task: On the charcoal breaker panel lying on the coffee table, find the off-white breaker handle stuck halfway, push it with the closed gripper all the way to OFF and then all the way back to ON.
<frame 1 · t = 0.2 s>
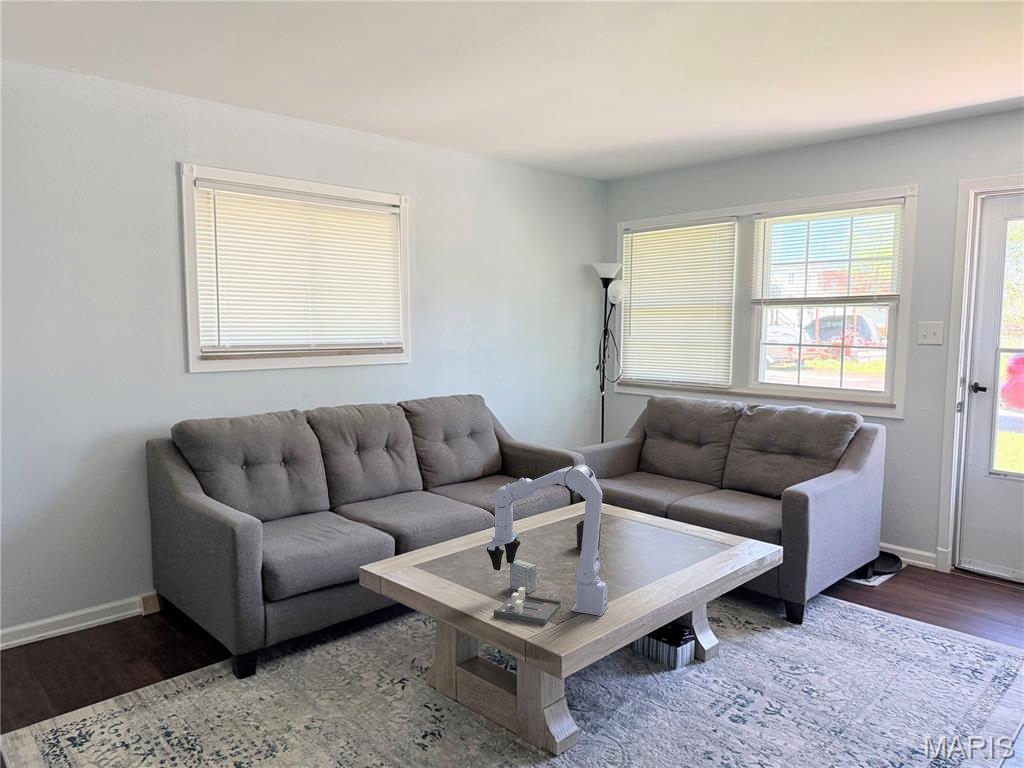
hand: (503, 566, 219), 10 cm above the table, tool pointing down, fingers open, 7 cm apart
breaker panel: (527, 611, 209), on the table
pen holder: (588, 548, 270), on the table
breaker 3: (521, 594, 215), point 3 cm above the table, slide at 3.0 cm
medicine box: (522, 589, 227), on the table
tripped breaker: (518, 607, 205), point 3 cm above the table, slide at 0.0 cm
breaker 2: (515, 599, 210), point 3 cm above the table, slide at 3.0 cm
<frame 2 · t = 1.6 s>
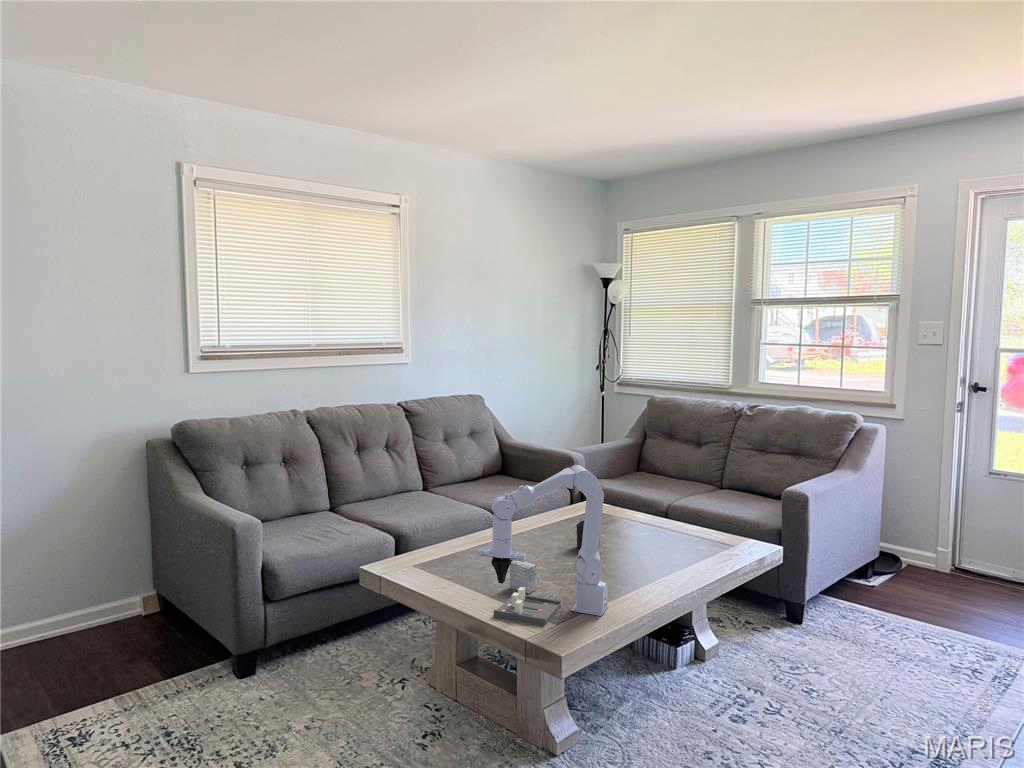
hand: (501, 582, 206), 10 cm above the table, tool pointing down, fingers closed
nothing on the table moved.
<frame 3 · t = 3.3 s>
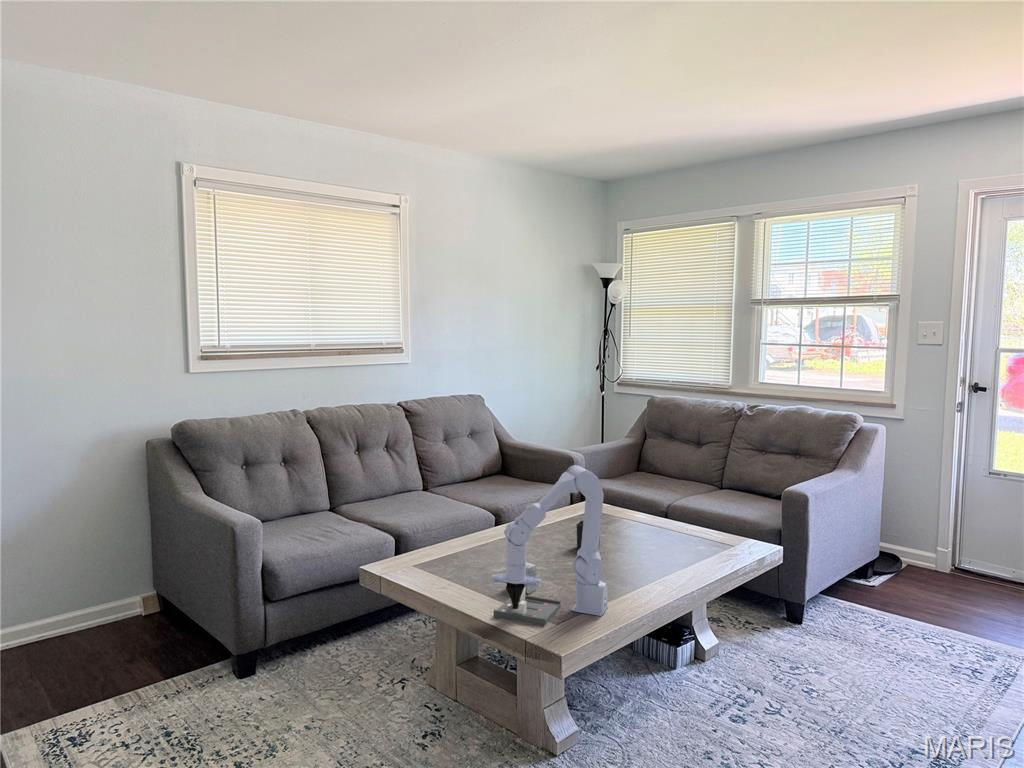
hand: (515, 607, 205), 3 cm above the table, tool pointing down, fingers closed
tripped breaker: (522, 608, 204), point 3 cm above the table, slide at -1.2 cm, touching gripper
everything else where it was.
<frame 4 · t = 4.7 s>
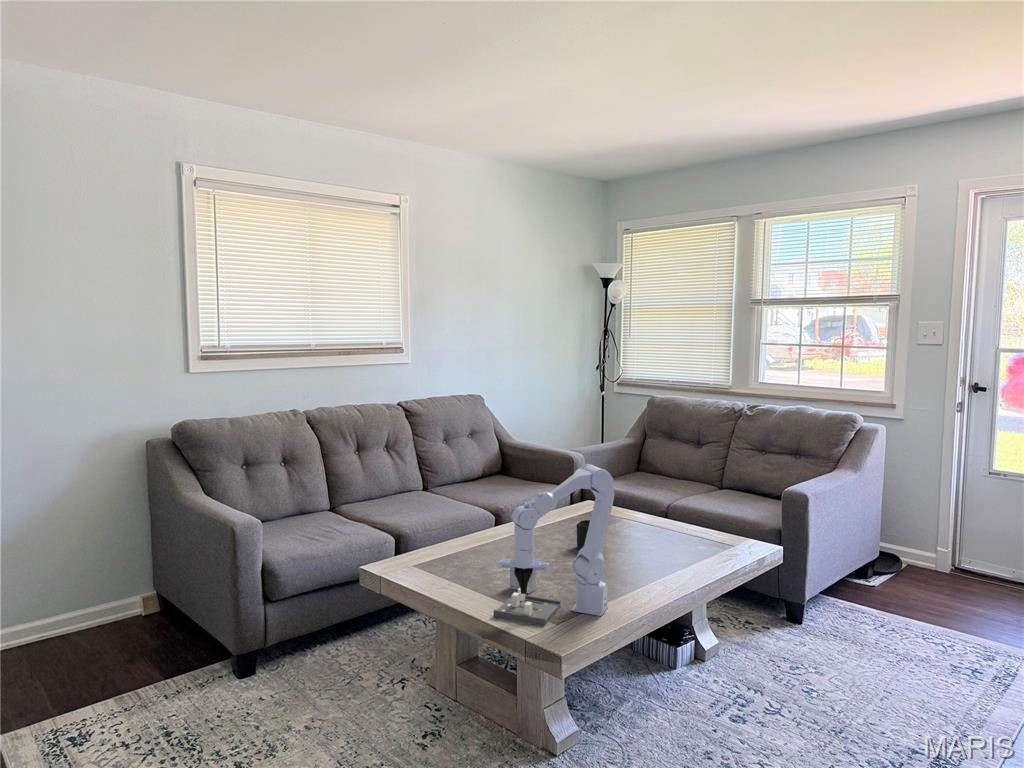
hand: (523, 592, 204), 8 cm above the table, tool pointing down, fingers closed
tripped breaker: (528, 609, 203), point 3 cm above the table, slide at -3.1 cm
everything else where it was.
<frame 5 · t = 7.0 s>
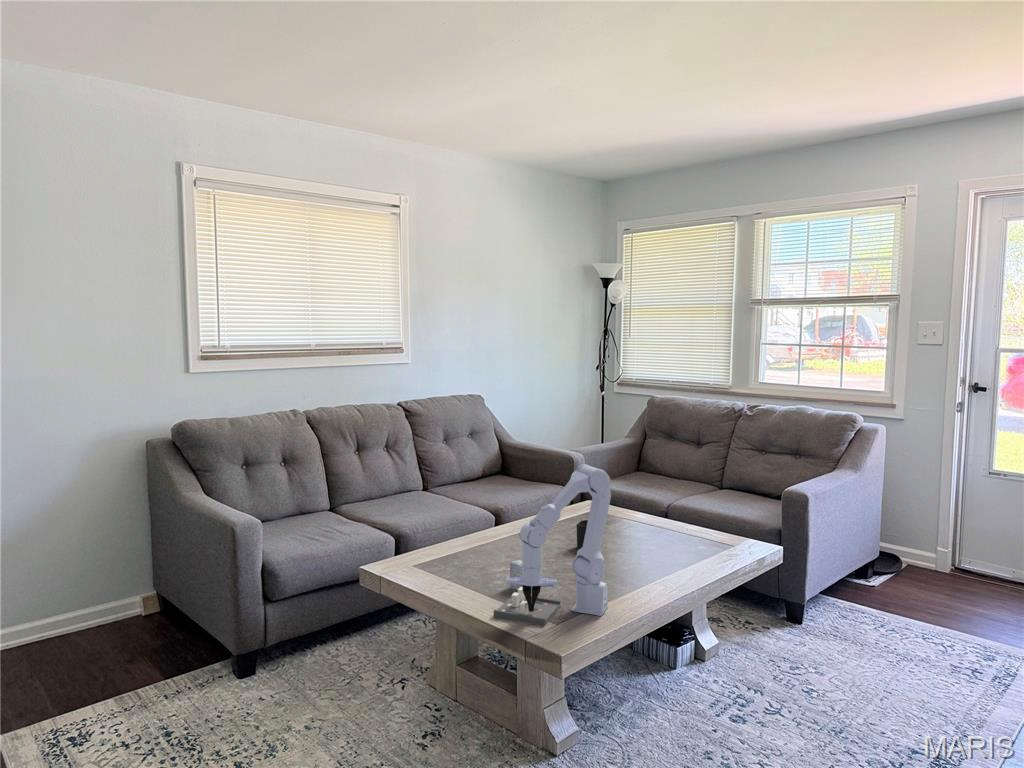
hand: (531, 610, 203), 3 cm above the table, tool pointing down, fingers closed
tripped breaker: (523, 608, 204), point 3 cm above the table, slide at -1.7 cm, touching gripper
everything else where it was.
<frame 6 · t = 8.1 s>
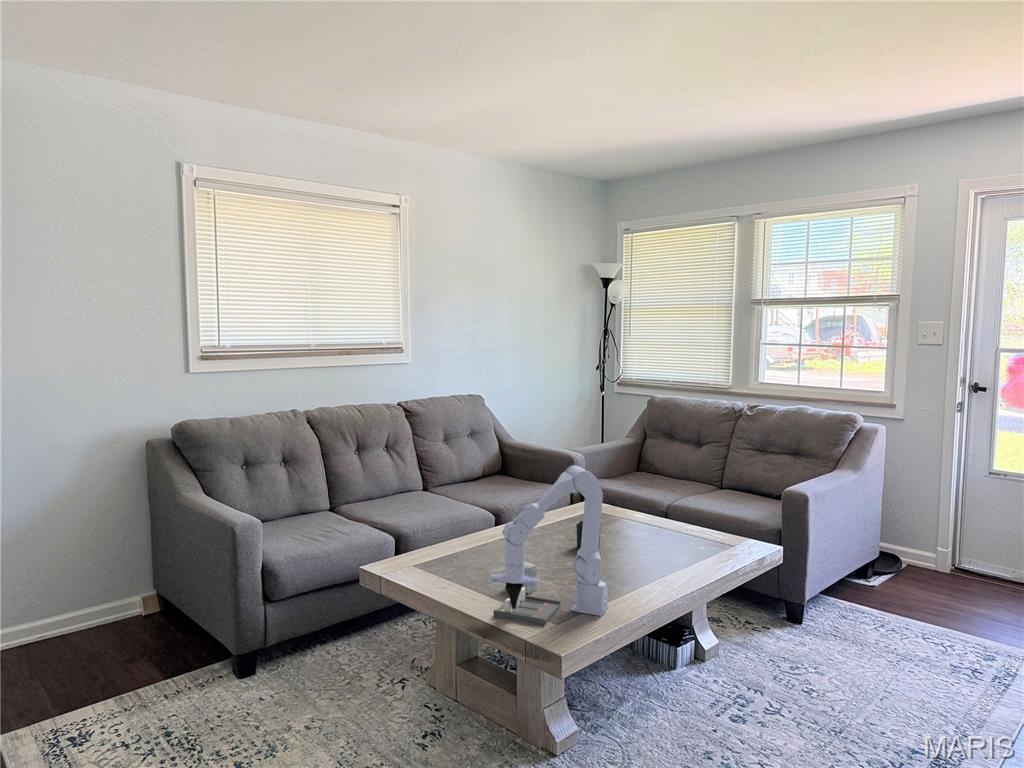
hand: (514, 607, 205), 3 cm above the table, tool pointing down, fingers closed
tripped breaker: (508, 605, 206), point 3 cm above the table, slide at 3.2 cm, touching gripper
everything else where it was.
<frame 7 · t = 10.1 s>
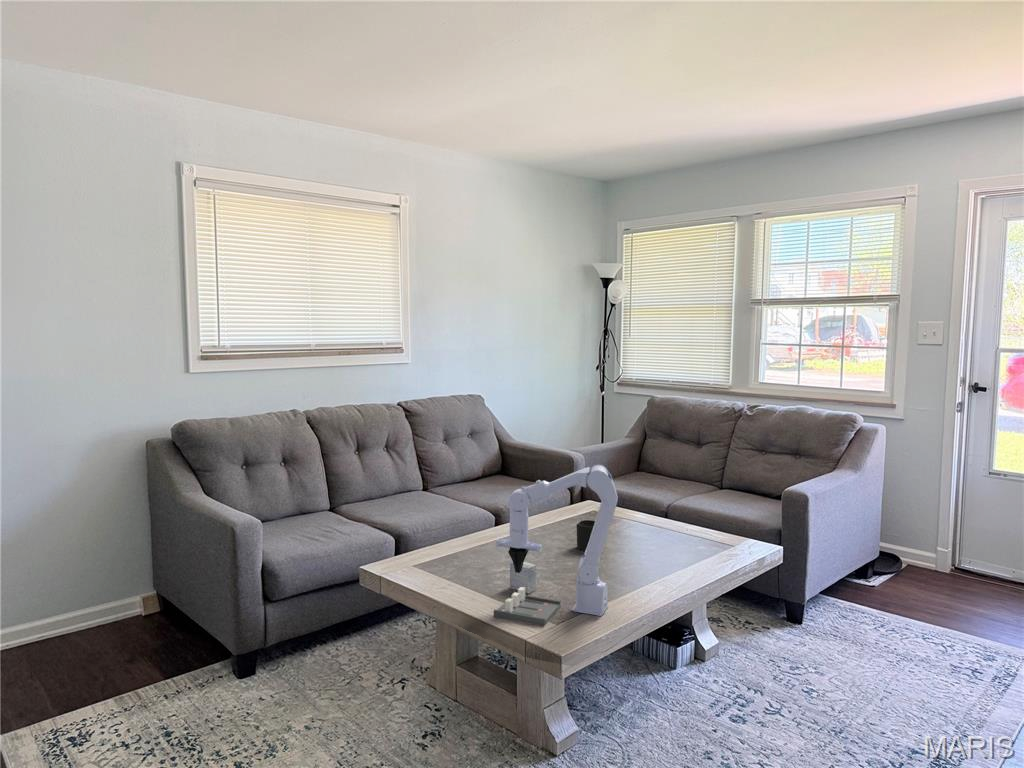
hand: (518, 571, 214), 10 cm above the table, tool pointing down, fingers closed
tripped breaker: (509, 605, 206), point 3 cm above the table, slide at 3.1 cm
everything else where it was.
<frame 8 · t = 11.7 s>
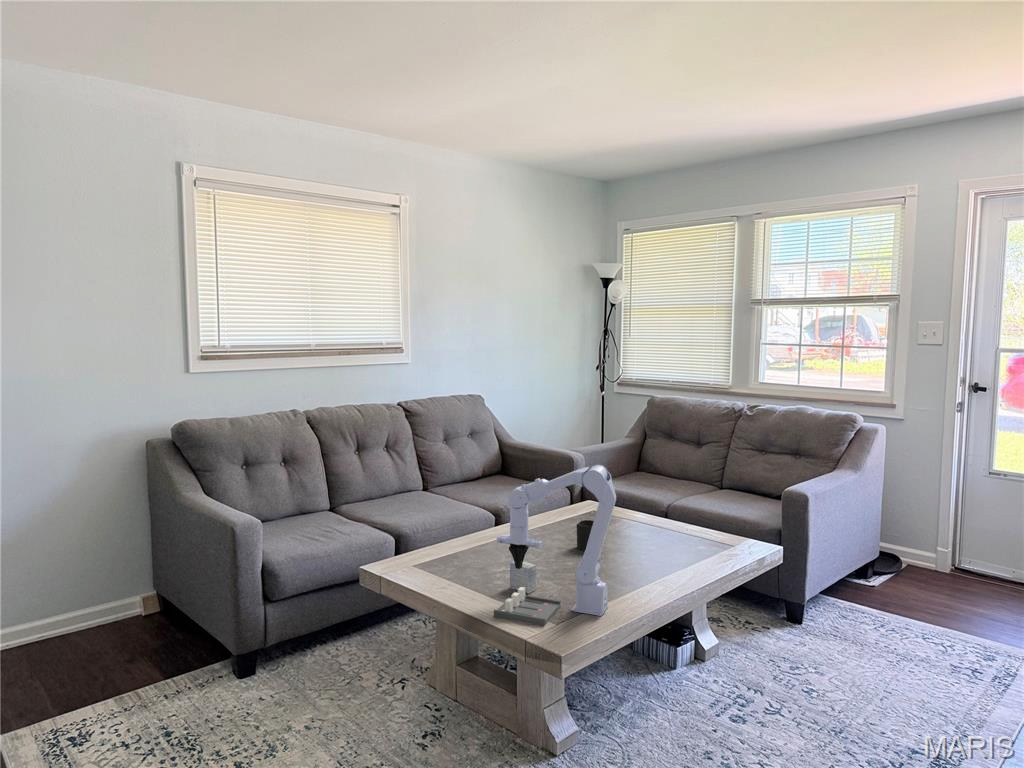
hand: (518, 567, 217), 10 cm above the table, tool pointing down, fingers closed
nothing on the table moved.
at the end: tripped breaker slide at 3.1 cm; breaker 2 slide at 3.0 cm; breaker 3 slide at 3.0 cm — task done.
